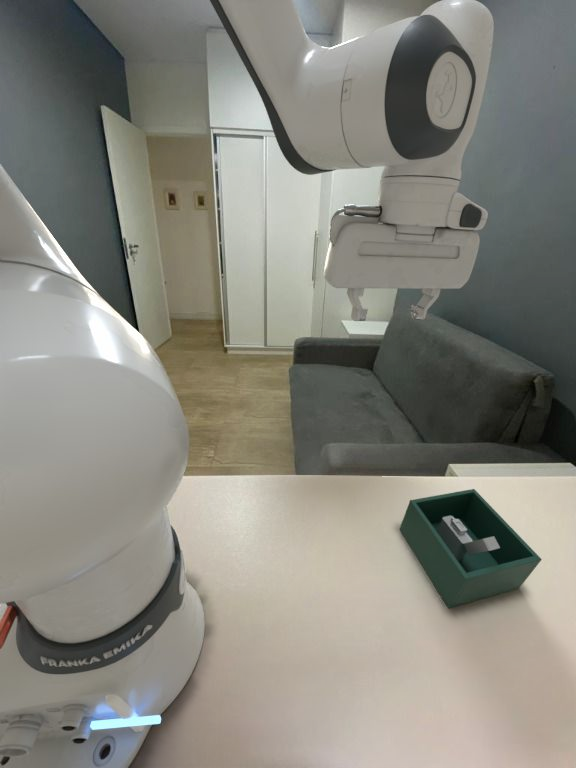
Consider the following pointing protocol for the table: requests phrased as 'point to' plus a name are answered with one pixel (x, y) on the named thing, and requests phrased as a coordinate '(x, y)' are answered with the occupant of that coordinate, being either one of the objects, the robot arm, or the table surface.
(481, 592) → the bin
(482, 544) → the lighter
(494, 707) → the table surface
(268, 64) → the robot arm
